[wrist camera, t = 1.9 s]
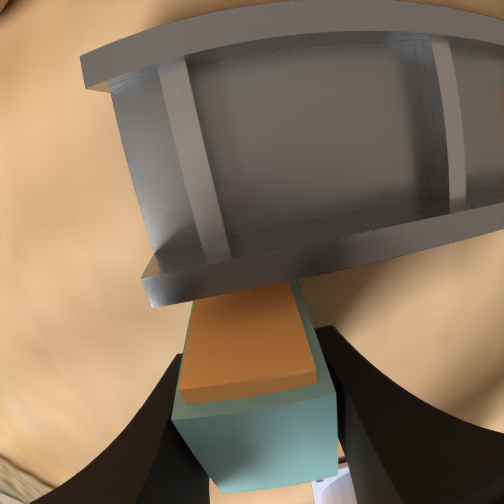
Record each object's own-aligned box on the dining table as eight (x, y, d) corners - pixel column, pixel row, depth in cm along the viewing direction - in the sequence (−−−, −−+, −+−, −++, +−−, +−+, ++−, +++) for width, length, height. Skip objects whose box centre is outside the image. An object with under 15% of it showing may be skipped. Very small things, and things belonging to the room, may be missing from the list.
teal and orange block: (293, 264, 10) (335, 376, 6) (308, 366, 12) (338, 475, 7) (189, 285, 10) (161, 405, 6) (223, 382, 12) (222, 493, 8)
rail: (595, 175, 9) (628, 189, 7) (170, 261, 10) (152, 308, 7) (588, 70, 7) (623, 74, 4) (120, 71, 8) (79, 56, 5)
